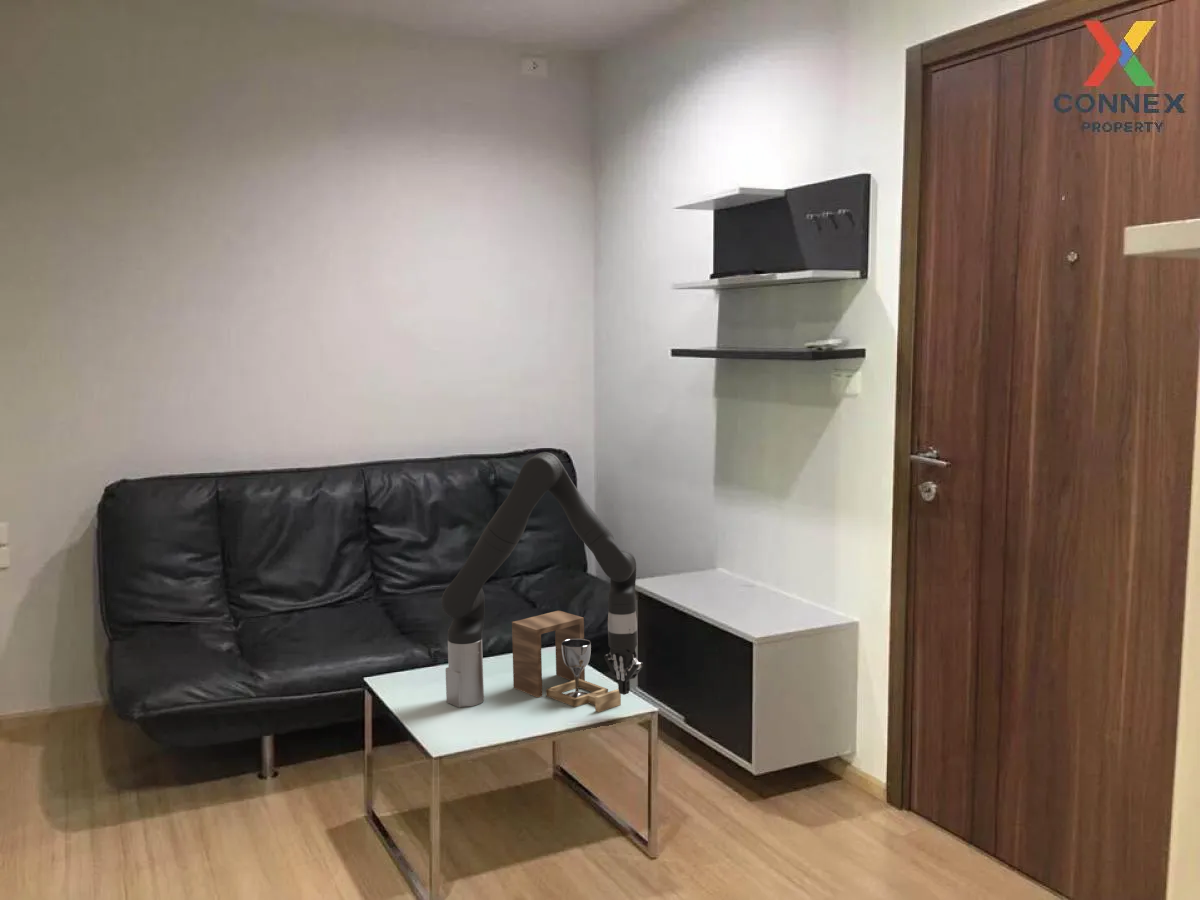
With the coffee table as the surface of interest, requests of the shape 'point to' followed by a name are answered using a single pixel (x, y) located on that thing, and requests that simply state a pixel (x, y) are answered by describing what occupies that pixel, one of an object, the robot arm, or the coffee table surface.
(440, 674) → the coffee table surface
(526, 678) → the wooden arch frame
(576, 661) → the wine glass
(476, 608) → the robot arm
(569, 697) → the drawer
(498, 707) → the coffee table surface
